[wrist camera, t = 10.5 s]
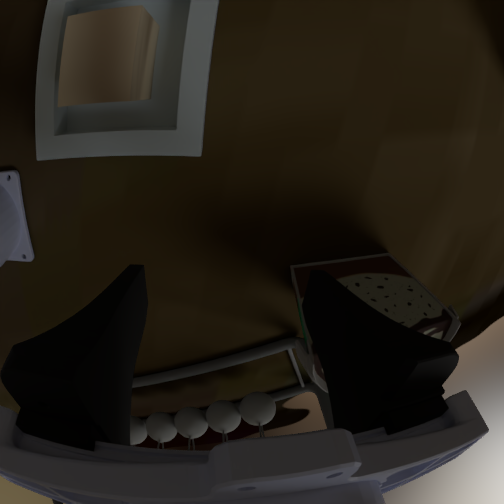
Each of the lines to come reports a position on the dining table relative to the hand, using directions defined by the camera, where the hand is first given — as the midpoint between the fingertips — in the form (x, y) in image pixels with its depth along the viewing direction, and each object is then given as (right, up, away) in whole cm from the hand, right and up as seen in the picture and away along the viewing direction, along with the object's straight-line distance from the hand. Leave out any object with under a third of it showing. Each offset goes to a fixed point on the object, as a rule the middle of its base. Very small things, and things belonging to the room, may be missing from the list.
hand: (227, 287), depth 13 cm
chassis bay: (-7, +14, +2) cm, 15 cm away
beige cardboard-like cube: (-7, +13, +2) cm, 15 cm away
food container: (+9, -2, +14) cm, 16 cm away
